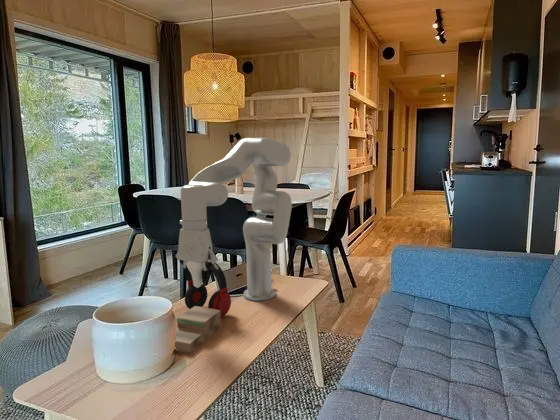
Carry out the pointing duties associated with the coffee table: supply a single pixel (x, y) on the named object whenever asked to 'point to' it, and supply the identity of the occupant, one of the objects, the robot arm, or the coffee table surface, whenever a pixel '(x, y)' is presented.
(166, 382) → the coffee table surface
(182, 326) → the stand
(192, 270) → the lightbulb
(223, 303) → the headphones
